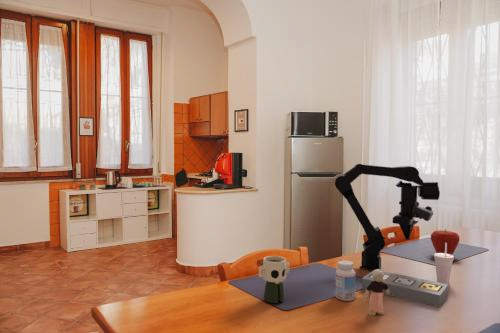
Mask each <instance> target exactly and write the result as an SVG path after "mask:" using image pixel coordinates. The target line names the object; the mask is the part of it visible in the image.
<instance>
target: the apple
mask: <svg viewBox="0 0 500 333" xmlns="http://www.w3.org/2000/svg"><path fill="white" fill-rule="evenodd" d="M430 240H431V244H432V246H433V248H434V251H435V253H445V243H447V254H450V255H454V253H455V251H456V249H457V247H458V245H459V243H460V235H459V234H458V233H457V232H454V231H449V230H446V229H445V230H434V231H433V232H432V233H431V234H430Z"/></svg>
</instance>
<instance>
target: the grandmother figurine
mask: <svg viewBox="0 0 500 333" xmlns="http://www.w3.org/2000/svg"><path fill="white" fill-rule="evenodd" d="M382 271H383V270H381V269H376V270H374V271H373V272H372V271H371V272H372V277H373V279H374V280H375V281H372V282H371V283H370V284H369V286H368V287H367V288H366V290H364V291H365V292H364V293H363V295H364V296H365V297H368V295H369V294H370V292H371V295H370V298H369V307H368V309H369V310H368V311H367V312H368V315H369V316H376V315H383V316H384V314H385V313H384V308H383V307H384V305H383V301H384V300H383V296H384V294H383V289H384V290H385V291H386V293H387V294H389V293H390V291H389V289H388V286H387V285H386V284H385V283H384V282H382V279H383V277H384V273H383V272H382ZM387 294H386V295H387Z"/></svg>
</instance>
